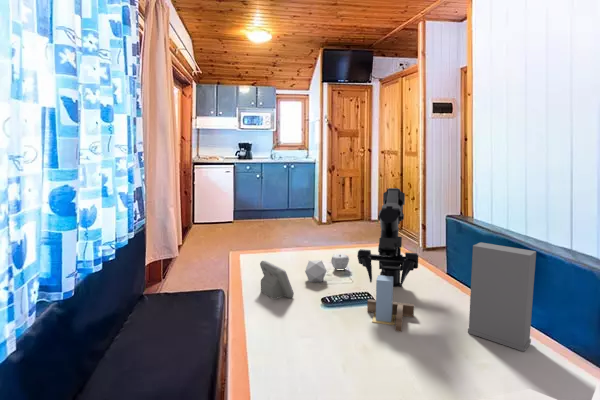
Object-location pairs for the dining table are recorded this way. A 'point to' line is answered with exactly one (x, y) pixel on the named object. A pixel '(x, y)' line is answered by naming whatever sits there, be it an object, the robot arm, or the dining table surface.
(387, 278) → the large blue square block
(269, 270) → the digital clock
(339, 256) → the apple
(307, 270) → the die
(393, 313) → the wooden t-shaped piece
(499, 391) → the dining table surface
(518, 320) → the grey upright tombstone
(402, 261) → the robot arm
